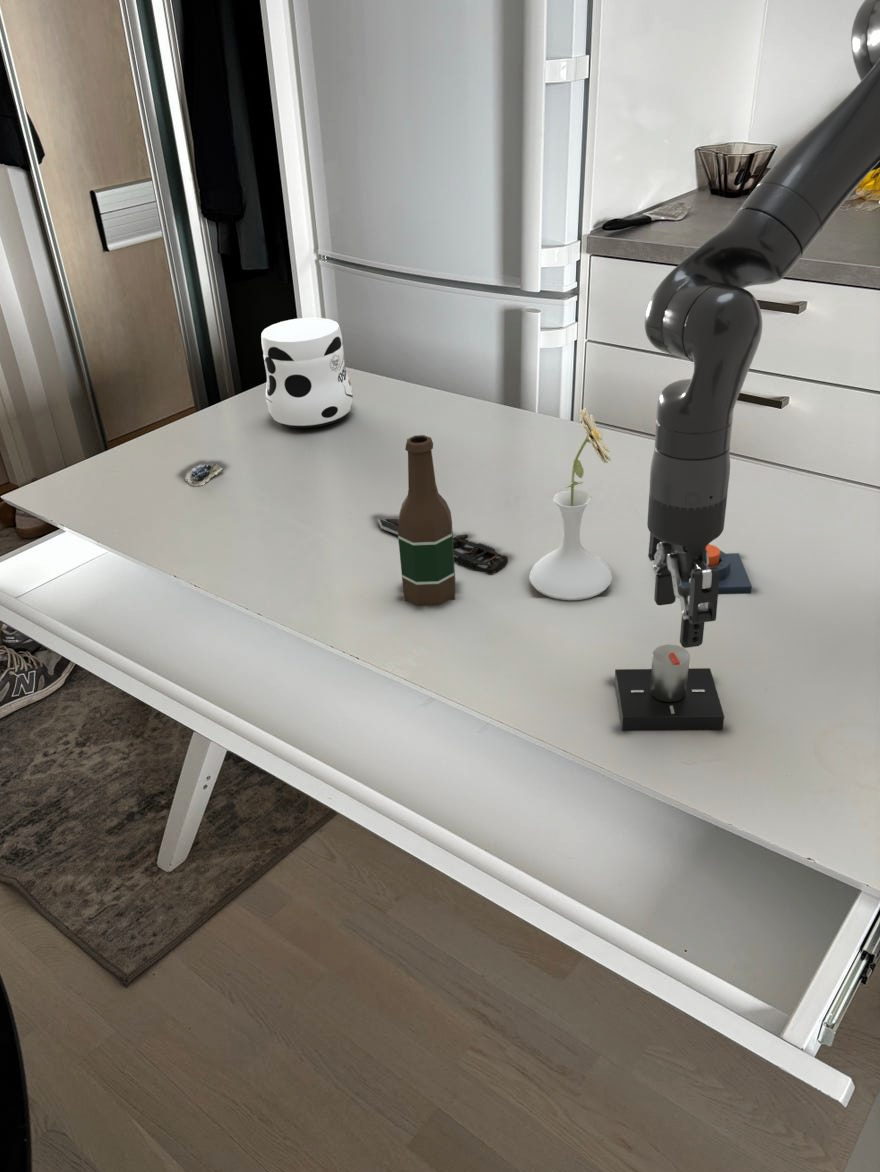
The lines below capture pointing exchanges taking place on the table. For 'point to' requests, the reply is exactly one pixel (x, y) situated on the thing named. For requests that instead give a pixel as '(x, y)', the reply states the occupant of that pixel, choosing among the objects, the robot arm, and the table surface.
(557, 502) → the flower in vase
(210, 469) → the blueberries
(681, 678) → the hob knob
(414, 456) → the beer bottle
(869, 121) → the robot arm
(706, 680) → the hob panel
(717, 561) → the button
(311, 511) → the table surface
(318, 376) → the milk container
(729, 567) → the button block
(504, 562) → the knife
